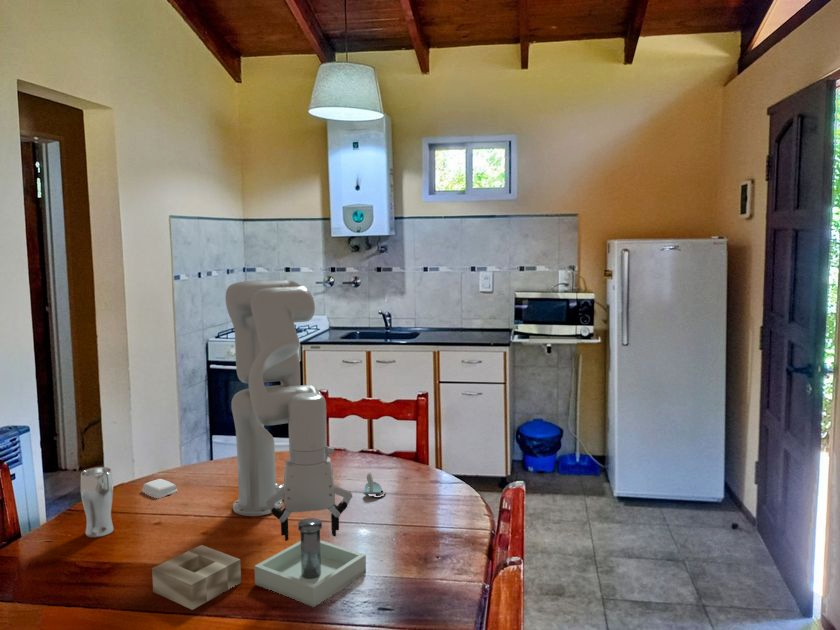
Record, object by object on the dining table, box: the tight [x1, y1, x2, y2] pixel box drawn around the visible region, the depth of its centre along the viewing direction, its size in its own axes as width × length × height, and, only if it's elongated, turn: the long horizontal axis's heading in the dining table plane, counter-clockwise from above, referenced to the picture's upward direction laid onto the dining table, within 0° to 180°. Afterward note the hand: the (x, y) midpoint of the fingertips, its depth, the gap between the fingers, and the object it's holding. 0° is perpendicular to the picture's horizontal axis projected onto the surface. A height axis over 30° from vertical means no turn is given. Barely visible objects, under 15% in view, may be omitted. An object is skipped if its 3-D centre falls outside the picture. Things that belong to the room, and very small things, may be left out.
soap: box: [141, 478, 179, 500], centre depth 186 cm, size 9×7×3 cm
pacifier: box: [363, 472, 383, 495], centre depth 183 cm, size 7×6×6 cm
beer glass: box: [80, 466, 115, 538], centre depth 160 cm, size 7×7×15 cm
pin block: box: [151, 544, 242, 611], centre depth 135 cm, size 12×12×5 cm
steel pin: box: [297, 517, 323, 579], centre depth 138 cm, size 5×5×11 cm
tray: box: [254, 539, 367, 608], centre depth 138 cm, size 16×16×4 cm
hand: (310, 535), depth 137 cm, fingers open, 9 cm apart
